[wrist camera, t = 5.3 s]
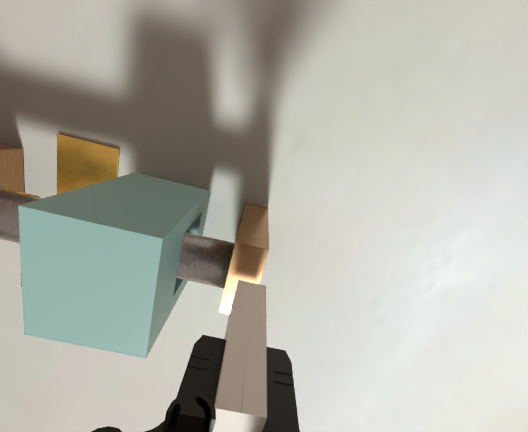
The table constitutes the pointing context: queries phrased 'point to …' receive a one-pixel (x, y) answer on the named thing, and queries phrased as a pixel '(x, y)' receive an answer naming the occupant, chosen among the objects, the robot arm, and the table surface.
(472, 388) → the table surface
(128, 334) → the collar
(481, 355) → the table surface
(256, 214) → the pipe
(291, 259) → the table surface
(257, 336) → the robot arm
